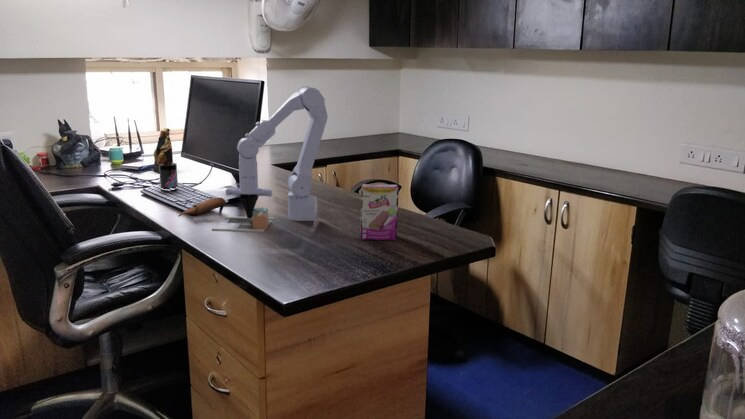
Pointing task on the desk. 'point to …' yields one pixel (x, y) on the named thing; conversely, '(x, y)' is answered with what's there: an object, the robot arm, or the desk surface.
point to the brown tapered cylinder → (205, 206)
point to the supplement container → (168, 175)
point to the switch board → (241, 227)
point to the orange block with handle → (260, 220)
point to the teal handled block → (260, 210)
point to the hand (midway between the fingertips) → (250, 217)
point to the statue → (163, 150)
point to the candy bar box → (378, 212)
